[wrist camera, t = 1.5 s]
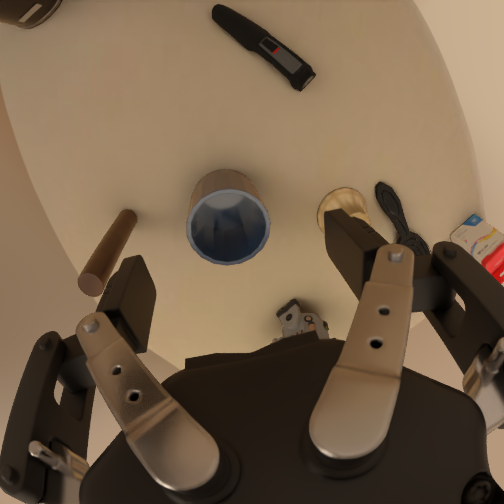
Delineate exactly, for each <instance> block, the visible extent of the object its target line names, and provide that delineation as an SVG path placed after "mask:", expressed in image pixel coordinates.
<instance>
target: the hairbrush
mask: <svg viewBox="0 0 504 504" xmlns="http://www.w3.org/2000/svg"><path fill="white" fill-rule="evenodd" d="M384 189H385V190H387V191H388V192H389V193H388V192H387V191H385V190H384ZM390 194H391V195H390ZM376 198H377V200H378V202H379V204H380V206H381V208H382V210H383V211H384V212H385V214H386V215H387V216H388V217H389V218H390V220H391V221H392V222H393V223H394V225H395V227H396V229H397V231H398V233H399V235H400V236H399V239H398V242H397V244H400V245H404V246H406V247H408V248H410V249H411V250H412V251H413V253H414V252H415V253H416V255H415V254H414V256H419V255H431V254H432V253H431V254H430V252H431V250H429V249H430V248H429V249H428V247H429V246H428V245H427V244H426V243H425V241H424V240H423V239H422V238H421V237H420V236H419V235H417V234H415V233H412V232H410V231H409V228H408V225H407V222H406V219H405V216H404V213H403V209H402V205H401V202H400V200H399V198H398V196H397V195H396V193H395V192H394V190H393V189H392V188H391V187H390V186H388V185H386V184H384V183H382V182H379V183H378V184H377V185H376ZM384 204H385V205H384ZM388 210H389V211H390V212H391V213H392V214H393V215H394V216H395V217H396V218H397V219H398V220H399V221H400V222H399V221H397V220H396V219H395V218H394V217H393V216H392V215H391V214H390V212H389V211H388ZM400 223H401V224H400ZM416 239H417V240H418V241H419V242H420V243H421V244H422V245H421V244H420V243H419V242H418V241H417V240H416ZM414 244H415V245H416V246H417V248H418V249H417V248H416V246H415V245H414Z"/></svg>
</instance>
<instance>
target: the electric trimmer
mask: <svg viewBox="0 0 504 504" xmlns="http://www.w3.org/2000/svg"><path fill="white" fill-rule="evenodd" d="M212 19H213V20H214V21H215V22H216V23H217V24H219V25H220V26H221V27H222V28H223V29H224V30H225V31H227V32H228V33H229V34H230V35H231V36H232V37H233V38H235V39H236V40H237V41H238V42H239V43H240V44H241V45H242V46H244V47H245V48H246V49H247V50H249V51H253V52H255V53H257V54H259V55H261V56H262V57H263V58H264V59H266V60H267V61H268V62H269V63H271V64H272V65H273V66H274V67H275V68H277V69H278V70H279V71H280V72H281V73H282V74H283V75H284V76H286V77H287V78H288V80H289V81H290V83H291V85H292V87H293V88H294V89H298V90H299V91H300V92H301V91H302V90H303V89H304V88H305V87H306V86H307V85H308V84H309V82H310V81H311V80H312V79H313V78H314V77H315V76H316V74H315V73H314V72H313V70H312V68H311V66H310V65H308V64H307V63H306V62H305V61H303V60H302V59H301V58H300V57H299V56H298V55H296V54H295V53H294V52H292V51H291V50H290V49H289V48H287V47H286V46H285V45H283V44H282V43H281V42H279V41H278V40H277V39H275V38H274V37H273V36H271V35H270V34H269V33H268V32H267V31H266V30H264V29H263V28H261V27H260V26H258V25H257V24H255V23H254V22H252V21H251V20H249V19H247V18H246V17H244V16H242V15H241V14H239V13H237V12H235V11H234V10H232V9H230V8H228V7H226V6H224V5H221V4H217V5H215V6H214V7H213V9H212Z"/></svg>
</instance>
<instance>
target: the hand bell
mask: <svg viewBox="0 0 504 504" xmlns="http://www.w3.org/2000/svg"><path fill="white" fill-rule="evenodd" d="M339 208H342V209H343V210H344V211H345V212H346V213H347V214H348V215H349V216H351V217H354V216H355V217H357V218H360V219H362V220H364V221H365V222H366V223H368V224H369V225H370V227H371V222H370V219H369V217H368V216H367V215H366V213H367V208H366V203H365V200H364V198H363V197H362V195H361V194H360V193H359V192H358V191H356V190H354V189H351V188H340V189H337V190H334V191H332V192H331V193H329V194H328V195H327V196H326V197H325V198H324V199H323V201H322V202H321V204H320V206H319V209H318V214H317V220H318V225H319V227H320V229H321V230H322V232H323V233H324V234H325V230H324V212H325V211H329V210H334V209H339Z"/></svg>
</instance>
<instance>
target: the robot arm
mask: <svg viewBox="0 0 504 504" xmlns="http://www.w3.org/2000/svg"><path fill="white" fill-rule="evenodd" d="M61 1H62V0H0V22H2V23H7V24H10V25H15V26H18V27H21V28H25V29H28V28H33V27H35V26H37V25H39V24H41V23H42V22H44V21H45V20H46V19H47V18H49V17H50V16H51V15H52V14H53V12H54V11H55V10H56V9H57V7H58V6H59V5H60V3H61ZM324 230H325V244H326V250H327V253H328V255H329V257H330V259H331V260H332V262H333V263H334V265H335V266H336V268H337V269H338V270H339V272H340V273H341V275H342V276H343V278H344V279H345V281H346V282H347V284H348V285H349V287H350V288H351V290H352V291H353V293H354V294H355V296H356V297H357V299H358V300H359V304H358V307H357V310H356V313H355V316H354V319H353V322H352V325H351V328H350V330H349V333H348V336H347V339H346V341H343V340H338V339H319V337H318V335H317V332H316V330H313V331H309V332H305V333H302V334H298V335H294V336H290V337H286V338H283V339H281V340H279V341H276V342H274V343H272V344H270V345H268V346H266V347H263V348H261V349H259V350H257V351H255V352H251V353H214V354H209V355H204V356H198V357H192V358H187V359H185V369H183V370H181V371H179V372H177V373H175V374H173V375H172V376H170V377H169V378H167V379H166V380H165V381H163V382H162V383H161V384H160V383H159V382H158V381H157V380H156V379H155V377H154V376H153V375H152V374H151V372H150V371H149V370H148V369H147V368H146V367H145V365H144V364H143V363H142V362H141V360H140V359H139V358H138V356H137V355H136V354H138V353H145V352H146V351H147V345H148V339H149V333H150V327H151V322H152V316H153V311H154V306H155V301H156V289H155V285H154V282H153V280H152V278H151V276H150V273H149V271H148V269H147V267H146V264H145V262H144V260H143V258H142V256H141V255H136V256H132V257H128V258H125V259H123V261H122V263H121V266H120V268H119V270H118V271H117V272H116V273H115V274H114V275H113V276H112V277H111V278H110V279H109V281H108V283H107V286H106V289H105V290H104V292H103V295H102V297H101V299H100V302H99V304H98V307H97V309H96V312H94V313H91V314H89V315H87V316H86V317H84V318H83V319H82V320H81V321H80V322H79V324H78V325H77V328H76V334H75V335H73V336H70V337H68V338H66V339H62V338H61V337H60V335H59V334H58V333H57V332H55V331H51V332H48V333H46V334H44V335H43V336H41V337H40V338H39V339H38V340H37V342H36V343H35V345H34V348H33V350H32V352H31V355H30V357H29V360H28V362H27V365H26V368H25V370H24V373H23V376H22V379H21V381H20V384H19V387H18V390H17V394H16V397H15V399H14V403H13V406H12V409H11V413H10V416H9V420H8V424H7V428H6V432H5V436H4V441H3V445H2V450H1V455H0V487H1V488H2V490H3V491H4V492H5V493H6V494H8V495H10V496H12V497H14V498H16V499H18V500H20V501H22V502H24V503H25V504H504V491H503V490H502V489H501V487H499V485H498V484H497V483H496V482H495V480H494V479H493V478H492V475H491V473H490V469H489V464H488V459H487V458H488V457H487V445H486V437H487V435H488V434H489V433H491V432H492V431H494V430H495V429H497V428H498V429H504V287H503V286H502V285H501V284H500V283H499V282H498V281H497V280H496V279H495V278H494V277H493V276H492V275H491V274H490V273H489V272H488V271H487V270H486V269H485V268H484V267H483V266H482V265H481V264H480V263H479V262H478V261H477V260H476V259H475V258H474V257H472V256H471V255H470V254H469V253H468V252H467V251H466V250H465V249H464V248H462V247H461V246H460V245H458V244H456V243H453V242H448V241H442V242H438V243H436V244H435V245H434V246H433V251H432V255H419V256H414V253H413V251H412V250H411V249H410V248H408V247H406V246H404V245H400V244H389V243H388V242H387V241H386V240H385V239H384V238H383V237H382V236H381V235H380V234H379V233H377V232H375V230H374V229H373V228H372V227H370V225H369V224H368V223H366V222H365V221H364V220H362V219H360V218H357V217H355V216H354V217H351V216H349V215H348V214H347V213H346V212H345V211H344V210H343V209H342V208H339V209H334V210H329V211H325V212H324ZM456 293H457V294H458V295H459V296H460V297H461V298H462V300H463V301H464V304H465V311H464V310H463V308H462V307H461V306H460V305H459V303H458V302H457V301H456V300H455V296H456ZM422 311H423V313H424V314H425V316H426V317H427V319H428V320H429V321H430V323H431V325H432V326H433V327H434V329H435V330H436V332H437V333H438V335H439V336H440V338H441V339H442V341H443V342H444V344H445V345H446V347H447V349H448V350H449V351H450V353H451V355H452V356H453V358H454V360H455V361H456V363H457V365H458V366H459V368H460V369H461V371H462V373H463V374H464V378H463V389H464V392H465V393H464V392H462V391H460V390H457V389H455V388H452V387H450V386H448V385H445V384H443V383H440V382H438V381H436V380H434V379H431V378H429V377H427V376H424V375H422V374H420V373H417V372H415V371H413V370H411V369H408V368H406V367H404V366H403V362H404V357H405V352H406V346H407V340H408V333H409V327H410V319H411V312H422ZM57 380H58V381H59V382H60V383H61V384H62V386H63V387H64V388H63V393H62V397H61V401H60V405H58V403H57V402H56V400H55V398H54V389H55V385H56V381H57ZM96 385H97V387H98V389H99V391H100V393H101V395H102V397H103V398H104V400H105V402H106V403H107V405H108V407H109V409H110V410H111V412H112V414H113V415H114V417H115V419H116V421H117V422H118V424H119V425H120V427H121V429H122V431H121V432H120V433H119V434H118V435H117V436H116V438H115V439H114V440H113V441H112V442H111V443H110V445H109V446H108V447H107V448H106V449H105V451H104V452H103V453H102V454H101V455H100V457H99V458H98V459H97V460H96V461H95V462H94V463H93V465H92V466H91V467H89V464H88V463H87V461H86V458H87V447H88V438H89V429H90V421H91V414H92V407H93V401H94V395H95V388H96Z"/></svg>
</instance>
